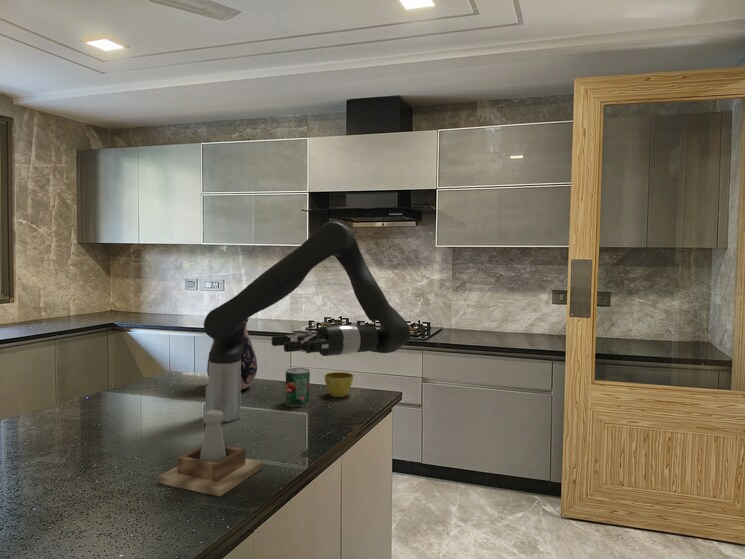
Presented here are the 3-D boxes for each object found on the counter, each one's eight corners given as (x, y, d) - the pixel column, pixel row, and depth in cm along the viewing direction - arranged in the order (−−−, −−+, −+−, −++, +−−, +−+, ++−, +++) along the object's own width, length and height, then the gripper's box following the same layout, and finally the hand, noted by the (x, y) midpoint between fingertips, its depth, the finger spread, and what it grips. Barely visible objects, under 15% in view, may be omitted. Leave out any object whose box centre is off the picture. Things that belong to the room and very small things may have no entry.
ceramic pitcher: (231, 397, 188) (232, 324, 187) (189, 388, 199) (189, 318, 198) (267, 387, 203) (268, 319, 202) (226, 379, 214) (226, 314, 213)
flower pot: (320, 393, 197) (320, 373, 196) (346, 390, 201) (347, 371, 200) (329, 400, 187) (329, 379, 187) (357, 397, 191) (357, 377, 191)
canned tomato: (314, 402, 184) (314, 369, 184) (298, 408, 178) (299, 374, 177) (295, 398, 188) (296, 366, 188) (280, 404, 182) (280, 370, 181)
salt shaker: (218, 475, 121) (218, 416, 120) (194, 472, 122) (194, 414, 121) (230, 465, 126) (231, 408, 126) (207, 462, 127) (207, 406, 127)
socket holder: (158, 483, 120) (158, 460, 119) (205, 457, 134) (205, 437, 134) (220, 496, 114) (220, 472, 113) (262, 468, 129) (262, 447, 128)
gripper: (326, 321, 147) (268, 324, 139) (351, 329, 135) (289, 333, 127) (326, 349, 148) (267, 354, 140) (351, 359, 135) (288, 365, 127)
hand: (278, 344), depth 133 cm, fingers open, 8 cm apart
